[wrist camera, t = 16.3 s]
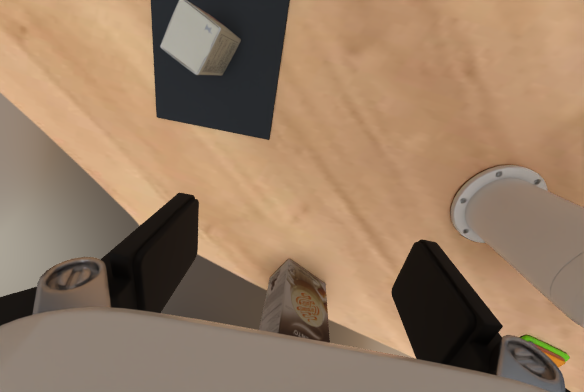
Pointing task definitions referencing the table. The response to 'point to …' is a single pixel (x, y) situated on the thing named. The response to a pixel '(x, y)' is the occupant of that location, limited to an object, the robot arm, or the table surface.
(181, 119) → the desk mat
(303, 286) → the coffee box
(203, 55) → the small box
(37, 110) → the table surface
